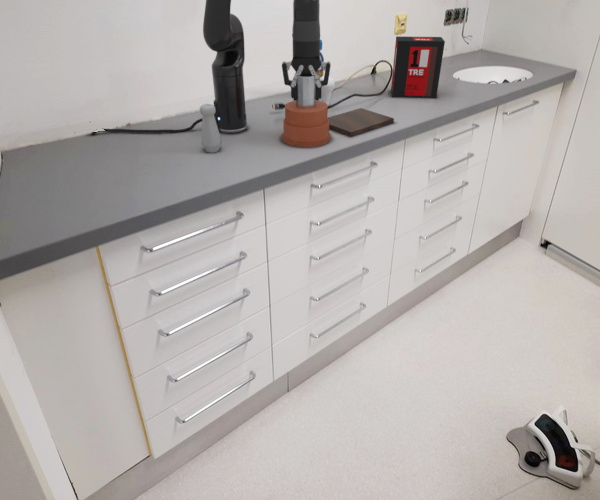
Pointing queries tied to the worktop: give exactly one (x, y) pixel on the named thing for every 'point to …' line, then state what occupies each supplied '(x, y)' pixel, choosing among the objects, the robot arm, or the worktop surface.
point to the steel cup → (306, 92)
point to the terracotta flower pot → (306, 125)
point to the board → (358, 122)
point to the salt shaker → (209, 129)
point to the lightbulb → (327, 90)
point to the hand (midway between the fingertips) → (306, 99)
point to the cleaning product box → (417, 67)
